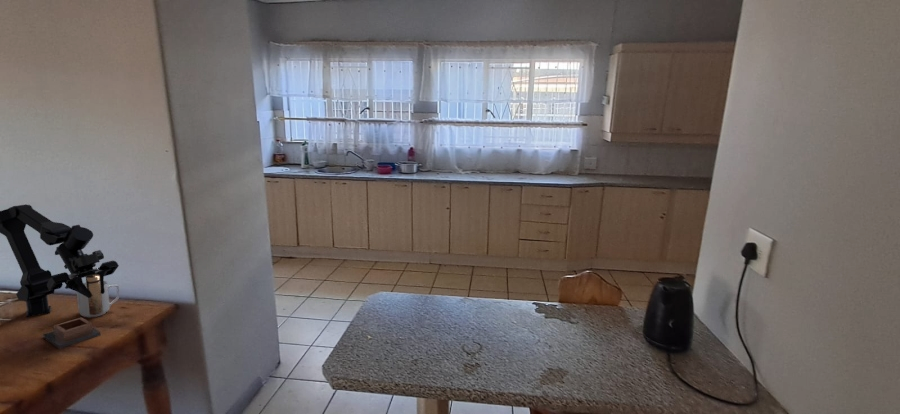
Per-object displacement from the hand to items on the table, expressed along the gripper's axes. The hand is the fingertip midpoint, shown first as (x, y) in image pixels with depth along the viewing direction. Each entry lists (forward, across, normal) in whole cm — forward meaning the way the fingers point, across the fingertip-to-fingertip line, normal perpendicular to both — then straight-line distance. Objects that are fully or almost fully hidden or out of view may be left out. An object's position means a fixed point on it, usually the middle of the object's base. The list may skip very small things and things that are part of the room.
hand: (96, 295), depth 145 cm
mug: (-1, +9, +21) cm, 22 cm away
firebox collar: (+6, -6, +12) cm, 15 cm away
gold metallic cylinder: (+4, 0, +6) cm, 7 cm away
